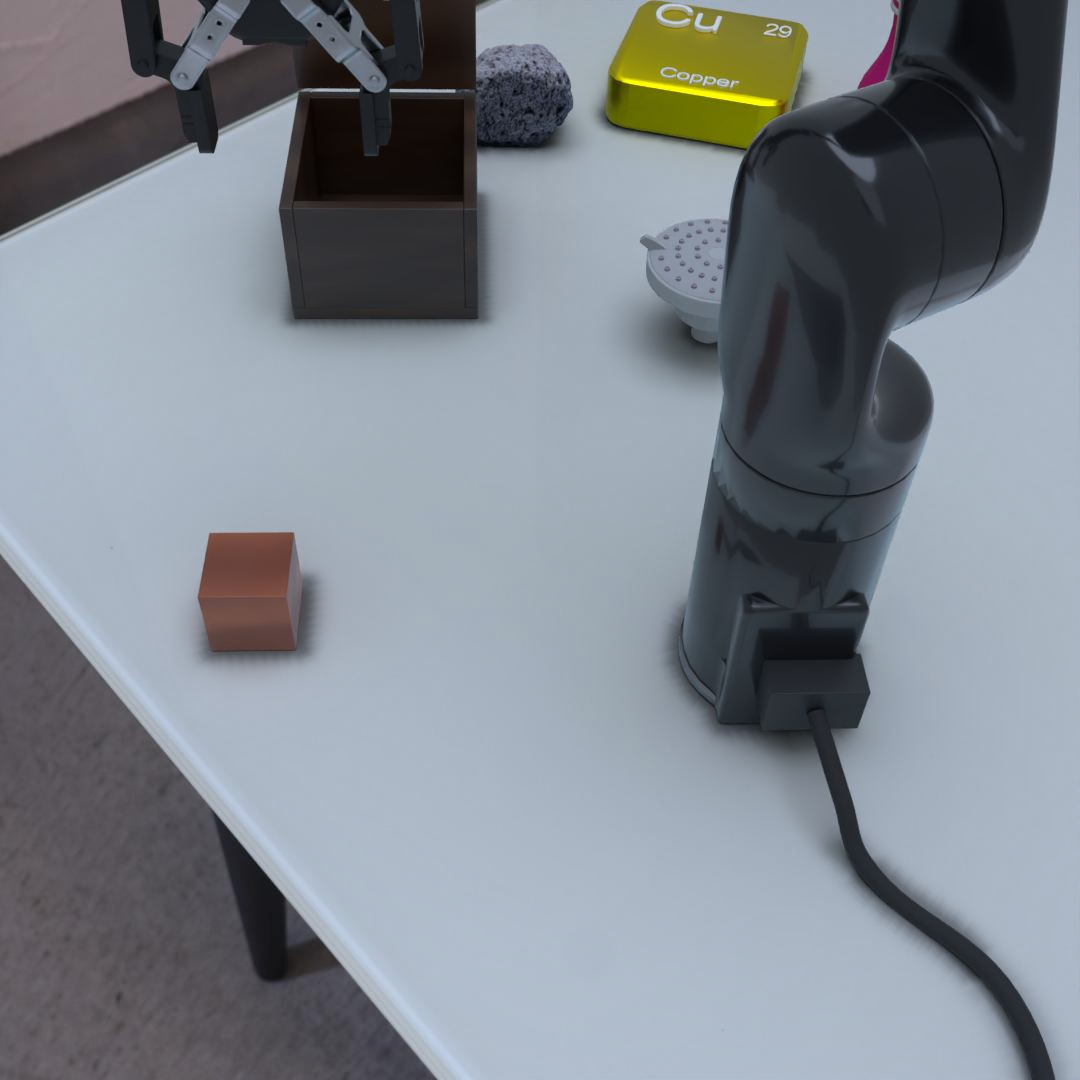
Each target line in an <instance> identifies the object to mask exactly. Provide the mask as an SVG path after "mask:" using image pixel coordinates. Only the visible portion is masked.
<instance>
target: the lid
mask: <svg viewBox="0 0 1080 1080" xmlns="http://www.w3.org/2000/svg"><path fill="white" fill-rule="evenodd" d="M348 1H349V2H350V3H351V5H352V6H353V7H354V8H355V9H356V10H357V12H358V13H359V14H360V16H361V17H362V19H363V22H364V24H365V26H366V28H367V29H368V30H369V31H370V32H371V33H372V35H373V36H374V37H375V38H376V39H377V40H378V42H379V43H380V44H381V45H382V46H383V47H384V48H386V47H389V46H392V45H395V43H394V35H393V27H392V19H391V11H390V3H389V1H384V0H348ZM419 2H420V11H421V20H422V30H423V39H424V55H423V57H422V64H423V69H422V75H421V77H420V78H419V79H418V80H416V81H406V80H404V79H403V80H400V81H397V82H395V83H393V84H392V85H391V86H390V90H439V91H440V90H445V91H446V90H453V91H454V90H476V59H477V0H419ZM290 47H291V53H292V54H291V55H292V62H293V67H294V73H295V80H296V81H295V82H296V88H297V89H312V90H313V89H316V90H317V89H321V90H322V89H324V90H325V89H329V90H360V84H361V83H360V81H359V80H358V79H357V78H356V77H355V76H354V75H353V74H352V72H351V71H350V70H349V69H348V68H347V67H346V66H345V65H344V64H343V63H338V62H337V61H336V60H335V59H334V58H333V57H332V56H331V55H330V54H329V53H328V52H327V51H326V49H325V48H324V47H323V46H322V45H321V44H320V43H319V42H318V40H317V39H316V38H315V39H313V40H311V41H308V43H307V46H290Z"/></svg>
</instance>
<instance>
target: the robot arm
mask: <svg viewBox="0 0 1080 1080" xmlns="http://www.w3.org/2000/svg"><path fill="white" fill-rule="evenodd" d="M197 1H198V3H199V4H200V5H201V6H202V7H203V8H202V9H201V11H200V13H199V14H198V16H197V18H196V20H195V23H194V24H193V25H192V27H191V28H190V30H189V32H188V34H187V36H186V37H185V39H184V40H183V42H182V43H181V45H179V44H176V43H173V42H170V41H167V40H165V37H164V29H163V23H162V17H161V16H162V14H161V7H160V0H120V4H121V9H122V17H123V23H124V30H125V36H126V42H127V49H128V55H129V63H130V67H131V70H132V72H133V73H135V75H137V76H139V77H141V78H151V77H153V76H155V77H158V78H161V79H164V80H166V81H167V82H169V83H170V84H171V86H172V87H173V88H174V91H175V97H176V102H177V107H178V112H179V116H180V121H181V126H182V130H183V135H184V137H185V139H186V140H187V141H188V143H189V144H190V143H193V144H194V143H195V144H197V150H198V152H199V154H215V152H216V149H217V145H218V141H219V125H218V119H217V114H216V113H217V112H216V109H215V103H214V96H213V91H212V85H211V80H210V74H209V69H208V68H207V66H208V65H209V63H210V62H212V60H213V59H214V58H215V56H216V54H217V53H218V51H219V50H220V49H221V47H222V45H223V44H224V42H225V41H226V39H227V38H228V36H229V35H230V36H231V37H233V38H235V39H236V40H239V41H241V42H242V46H262V45H267V44H270V43H279V44H282V45H286V46H290V47H291V46H307V43H308V41H311V40H313V39H315V38H316V39H317V40H318V42H319V43H320V44H321V45H322V46H323V47H324V48H325V49H326V51H327V52H328V53H329V54H330V55H331V56H332V57H333V58H334V59H335V60H336V61H337V62H338V63H343V64H344V65H345V66H346V67H347V68H348V69H349V70H350V71H351V72H352V74H353V75H354V76H355V77H356V78H357V79H358V80H359V81H360V83H361V84H360V89H359V91H358V92H359V99H360V111H361V123H362V134H363V146H364V155H365V156H378V153H379V145H387V144H388V142H389V139H390V135H391V127H392V116H391V101H390V92H391V89H390V86H391V85H392V84H393V83H395V82H397V81H400V80H403V79H404V80H406V81H416V80H418V79H419V78H420V77H421V75H422V69H423V64H422V57H423V55H424V39H423V30H422V20H421V11H420V2H419V0H384V1H389V3H390V11H391V19H392V27H393V35H394V43H395V45H392V46H389V47H386V48H384V47H383V46H382V45H381V44H380V43H379V42H378V40H377V39H376V38H375V37H374V36H373V35H372V33H371V32H370V31H369V30H368V29H367V28H366V26H365V24H364V22H363V19H362V17H361V16H360V14H359V13H358V12H357V10H356V9H355V8H354V7H353V6H352V5H351V3H350V2H349V1H348V0H197ZM1068 9H1069V0H899V8H898V18H897V25H896V33H895V40H894V46H893V51H892V56H891V61H890V64H889V68H888V71H887V75H886V77H885V79H884V81H883V82H879V83H876V84H873V85H870V86H867V87H864V88H860V89H857V88H856V89H854V90H851V91H848V92H845V93H844V92H843V93H841V94H838V95H835V96H832V97H829V98H827V99H824V100H819V101H817V102H813V103H811V104H808V105H804V106H801V107H797V108H795V109H793V110H792V109H791V111H790V112H787V113H784V114H782V115H780V116H778V117H776V118H775V119H773V120H771V121H770V122H769V123H767V124H766V125H765V126H764V127H763V128H761V130H760V131H759V132H758V133H757V134H756V136H755V137H754V138H753V140H752V141H751V143H750V145H749V147H748V148H747V149H746V150H745V152H744V155H743V156H742V159H741V161H740V164H739V166H738V167H739V168H738V170H737V173H736V177H735V181H734V184H733V188H732V193H731V198H730V204H729V212H728V219H727V220H728V227H727V238H726V249H725V260H724V271H723V282H722V292H721V302H720V311H719V320H718V333H717V342H716V343H717V358H718V359H717V360H718V366H719V373H720V378H721V384H722V392H723V394H722V401H721V408H720V414H719V419H718V425H717V429H716V430H717V431H716V435H715V440H714V446H713V452H712V458H711V461H710V462H711V463H710V468H709V474H708V479H707V486H706V491H705V496H704V501H703V502H704V503H703V507H702V508H703V509H702V514H701V520H700V525H699V529H698V530H699V531H698V536H697V542H696V547H695V553H694V560H693V564H692V571H691V576H690V582H689V587H688V593H687V602H686V607H685V613H684V617H683V619H682V622H681V625H680V629H679V637H678V655H679V661H680V665H681V667H682V669H683V671H684V674H685V676H686V677H687V679H688V680H689V682H690V683H691V685H692V686H693V687H694V689H695V690H697V692H698V693H699V694H700V695H701V696H702V697H703V698H704V699H706V700H707V701H708V702H709V703H711V704H712V705H713V706H714V709H715V712H716V719H717V721H718V722H719V723H722V724H760V728H761V730H762V731H777V730H780V731H783V730H784V731H787V730H788V731H789V730H810V731H811V734H812V738H813V740H814V744H815V748H816V751H817V754H818V757H819V762H820V764H821V767H822V771H823V774H824V777H825V780H826V784H827V787H828V790H829V794H830V798H831V800H832V803H833V807H834V809H835V810H834V811H835V814H836V820H837V823H838V828H839V833H840V837H841V841H842V845H843V848H844V850H845V853H846V854H847V857H848V859H849V861H850V862H851V864H852V865H853V867H854V868H855V869H856V871H857V872H858V874H859V875H860V877H861V878H862V879H863V881H864V882H865V883H866V884H867V885H868V887H870V888H871V890H872V891H873V892H874V893H875V894H876V895H877V896H878V897H879V898H880V899H881V900H882V901H883V902H884V903H885V904H887V906H888V907H890V908H891V909H892V910H893V911H894V912H896V913H897V914H899V915H900V916H901V917H903V918H904V920H906V921H907V922H909V923H910V924H912V925H913V926H915V928H917V929H918V930H920V931H921V932H923V933H924V934H926V935H927V936H929V937H930V938H932V939H933V940H934V941H936V942H937V943H938V944H940V945H942V946H943V947H944V948H946V949H947V950H949V951H950V952H951V953H953V954H954V955H955V956H957V958H959V959H960V960H961V961H963V963H965V964H966V965H967V966H969V968H971V969H972V970H973V971H974V972H975V973H976V975H978V976H979V977H980V978H981V979H982V980H983V981H984V983H985V984H986V985H987V986H988V987H989V988H990V990H991V991H992V993H993V994H994V995H995V997H996V999H997V1000H998V1001H999V1003H1000V1004H1001V1006H1002V1007H1003V1009H1004V1011H1005V1012H1006V1014H1007V1017H1008V1018H1009V1019H1010V1021H1011V1023H1012V1025H1013V1028H1014V1030H1015V1032H1016V1034H1017V1036H1018V1039H1019V1041H1020V1044H1021V1046H1022V1048H1023V1051H1024V1054H1025V1056H1026V1060H1027V1063H1028V1067H1029V1070H1030V1074H1031V1078H1032V1080H1056V1075H1055V1072H1054V1069H1053V1065H1052V1060H1051V1058H1050V1055H1049V1052H1048V1049H1047V1045H1046V1043H1045V1041H1044V1038H1043V1036H1042V1034H1041V1032H1040V1031H1041V1030H1040V1029H1039V1026H1038V1025H1037V1023H1036V1021H1035V1019H1034V1016H1033V1014H1032V1012H1031V1010H1030V1009H1029V1007H1028V1006H1027V1004H1026V1002H1025V1000H1024V999H1023V997H1022V995H1021V994H1020V992H1019V991H1018V990H1017V988H1016V986H1015V985H1014V984H1013V982H1012V981H1011V980H1010V978H1009V976H1008V975H1007V974H1006V973H1005V972H1004V971H1003V970H1002V969H1001V968H1000V966H999V965H998V964H997V963H996V962H995V961H994V960H993V959H992V958H991V957H990V956H989V955H987V954H986V952H984V951H983V950H982V948H980V947H979V946H978V945H976V944H975V943H974V942H972V940H970V939H968V938H967V937H966V936H964V935H963V934H962V933H961V932H959V931H958V930H956V929H955V928H954V927H952V926H950V924H948V923H946V922H945V921H943V920H942V919H940V918H939V917H937V916H936V915H934V914H933V913H932V912H930V911H928V909H926V908H924V907H923V906H922V905H920V904H919V903H917V902H916V901H914V900H913V899H912V898H910V896H908V895H907V894H906V893H904V892H903V891H902V890H901V889H900V888H899V887H898V886H896V884H895V883H893V882H892V881H891V880H890V878H889V877H888V876H887V875H886V874H885V873H884V872H883V871H882V870H881V868H880V867H879V866H878V864H877V863H876V862H875V860H874V859H873V857H872V856H871V855H870V853H869V852H868V850H867V848H866V846H865V844H864V841H863V839H862V835H861V831H860V827H859V821H858V817H857V812H856V807H855V805H854V801H853V797H852V794H851V790H850V789H849V784H848V782H847V778H846V775H845V772H844V769H843V764H842V762H841V759H840V756H839V753H838V748H837V746H836V743H835V740H834V736H833V733H832V730H848V729H850V730H852V729H853V730H854V729H859V726H860V723H861V720H862V717H863V715H864V712H865V709H866V707H867V704H868V701H869V698H870V696H871V689H870V684H869V680H868V677H867V672H866V668H865V665H864V660H863V658H862V657H863V656H862V653H858V647H859V646H860V642H861V639H862V636H863V633H864V630H865V628H866V625H867V621H868V619H869V616H870V610H871V609H870V606H871V605H872V601H873V599H874V595H875V592H876V589H877V586H878V583H879V580H880V577H881V574H882V571H883V568H884V565H885V562H886V560H887V557H888V554H889V551H890V548H891V545H892V542H893V539H894V536H895V533H896V530H897V527H898V524H899V521H900V518H901V515H902V513H903V509H904V506H905V504H906V501H907V498H908V496H909V493H910V491H911V487H912V484H913V481H914V479H915V475H916V472H917V469H918V466H919V463H920V461H921V458H922V455H923V452H924V449H925V446H926V443H927V440H928V437H929V434H930V431H931V427H932V425H933V421H934V413H935V397H934V391H933V387H932V385H931V382H930V380H929V377H928V375H927V373H926V372H925V370H924V369H923V367H922V366H921V365H920V363H919V362H918V361H917V360H916V359H915V358H914V356H912V355H911V353H909V351H907V349H905V348H904V347H902V346H901V345H899V344H898V343H897V342H895V341H893V340H892V339H891V338H890V337H891V335H892V333H893V332H895V331H898V330H900V329H901V328H905V327H907V326H909V325H911V324H914V323H917V322H920V321H921V320H924V319H926V318H929V317H932V316H934V315H936V314H938V313H941V312H943V311H944V312H945V311H946V310H949V309H951V308H953V307H956V306H957V305H961V304H963V303H965V302H968V301H970V300H973V299H974V298H977V297H979V296H981V295H983V294H985V293H987V292H988V291H991V289H993V288H995V287H996V286H998V285H999V284H1001V283H1002V282H1003V281H1005V280H1006V279H1007V278H1009V277H1010V276H1011V275H1012V274H1013V273H1014V272H1016V270H1017V269H1019V267H1020V266H1021V265H1022V263H1023V262H1024V260H1025V259H1026V257H1027V256H1028V254H1029V253H1030V251H1031V249H1032V247H1033V245H1034V243H1035V241H1036V238H1037V236H1038V235H1039V234H1038V233H1039V231H1040V230H1041V229H1040V228H1041V226H1042V223H1043V219H1044V215H1045V212H1046V209H1047V204H1048V198H1049V195H1050V194H1049V193H1050V189H1051V182H1052V176H1053V175H1052V174H1053V170H1054V169H1053V168H1054V159H1055V152H1056V141H1057V134H1058V133H1057V131H1058V121H1059V109H1060V100H1061V99H1060V98H1061V87H1062V77H1063V64H1064V55H1065V43H1066V33H1067V32H1066V31H1067V19H1068V11H1069V10H1068ZM206 68H207V69H206Z"/></svg>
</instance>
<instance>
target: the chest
mask: <svg viewBox="0 0 1080 1080" xmlns="http://www.w3.org/2000/svg"><path fill="white" fill-rule="evenodd" d="M390 101H391V116H392V127H391V135H390V139H389V142H388V144H387V145H379V153H378V156H365V155H364V146H363V134H362V123H361V111H360V99H359V91H328V90H327V91H325V90H324V91H323V90H322V91H319V90H317V91H315V90H313V91H304V90H303V91H302V90H301V91H300V90H299V91H298V93H297V99H296V105H295V112H294V117H293V123H292V129H291V134H290V140H289V145H288V151H287V157H286V164H285V170H284V175H283V181H282V187H281V194H280V199H279V205H278V213H279V220H280V228H281V229H280V230H281V235H282V243H283V250H284V251H283V252H284V257H285V264H286V272H287V278H288V284H289V285H288V286H289V292H290V301H291V307H292V315H293V319H478V318H479V254H478V253H479V240H478V239H479V237H478V233H479V232H478V230H479V229H478V228H479V225H478V223H479V222H478V216H479V215H478V143H477V94H476V93H459V92H455V91H454V92H446V91H445V92H443V91H441V92H440V91H434V92H433V91H431V92H430V91H390Z"/></svg>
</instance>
